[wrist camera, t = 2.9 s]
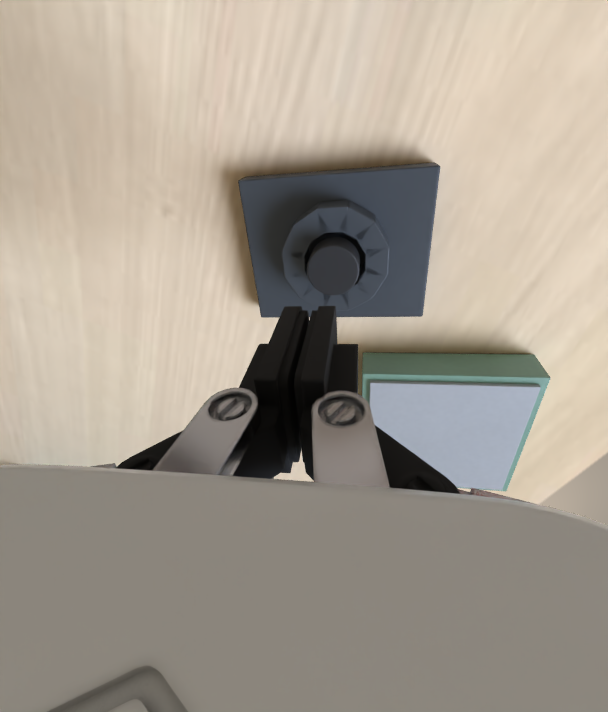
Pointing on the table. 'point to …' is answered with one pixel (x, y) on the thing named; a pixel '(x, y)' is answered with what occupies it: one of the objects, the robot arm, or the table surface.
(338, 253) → the power button
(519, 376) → the scale
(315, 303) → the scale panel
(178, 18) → the table surface
